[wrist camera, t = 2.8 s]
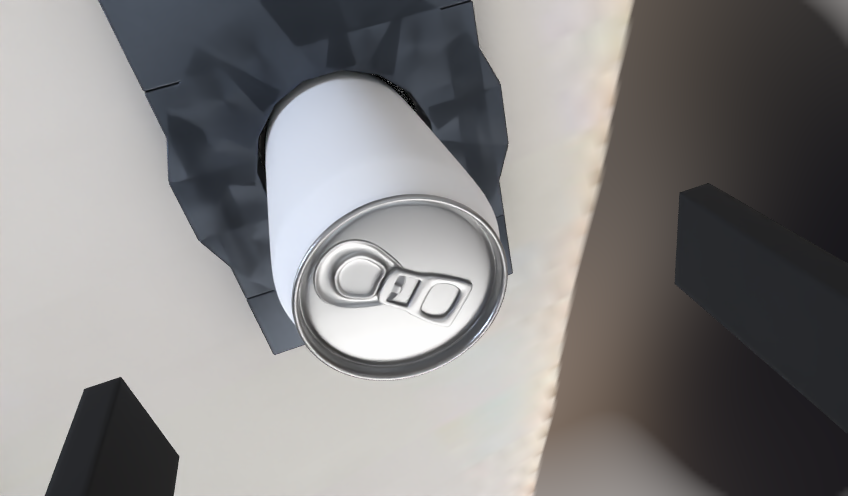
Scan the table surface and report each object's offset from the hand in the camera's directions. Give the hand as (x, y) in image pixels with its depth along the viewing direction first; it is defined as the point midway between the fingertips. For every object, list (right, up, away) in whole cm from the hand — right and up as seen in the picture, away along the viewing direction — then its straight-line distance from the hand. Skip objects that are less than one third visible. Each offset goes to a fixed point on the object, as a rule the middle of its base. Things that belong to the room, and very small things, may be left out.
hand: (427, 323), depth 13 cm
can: (-4, +6, +11) cm, 14 cm away
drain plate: (-4, +6, +11) cm, 13 cm away
